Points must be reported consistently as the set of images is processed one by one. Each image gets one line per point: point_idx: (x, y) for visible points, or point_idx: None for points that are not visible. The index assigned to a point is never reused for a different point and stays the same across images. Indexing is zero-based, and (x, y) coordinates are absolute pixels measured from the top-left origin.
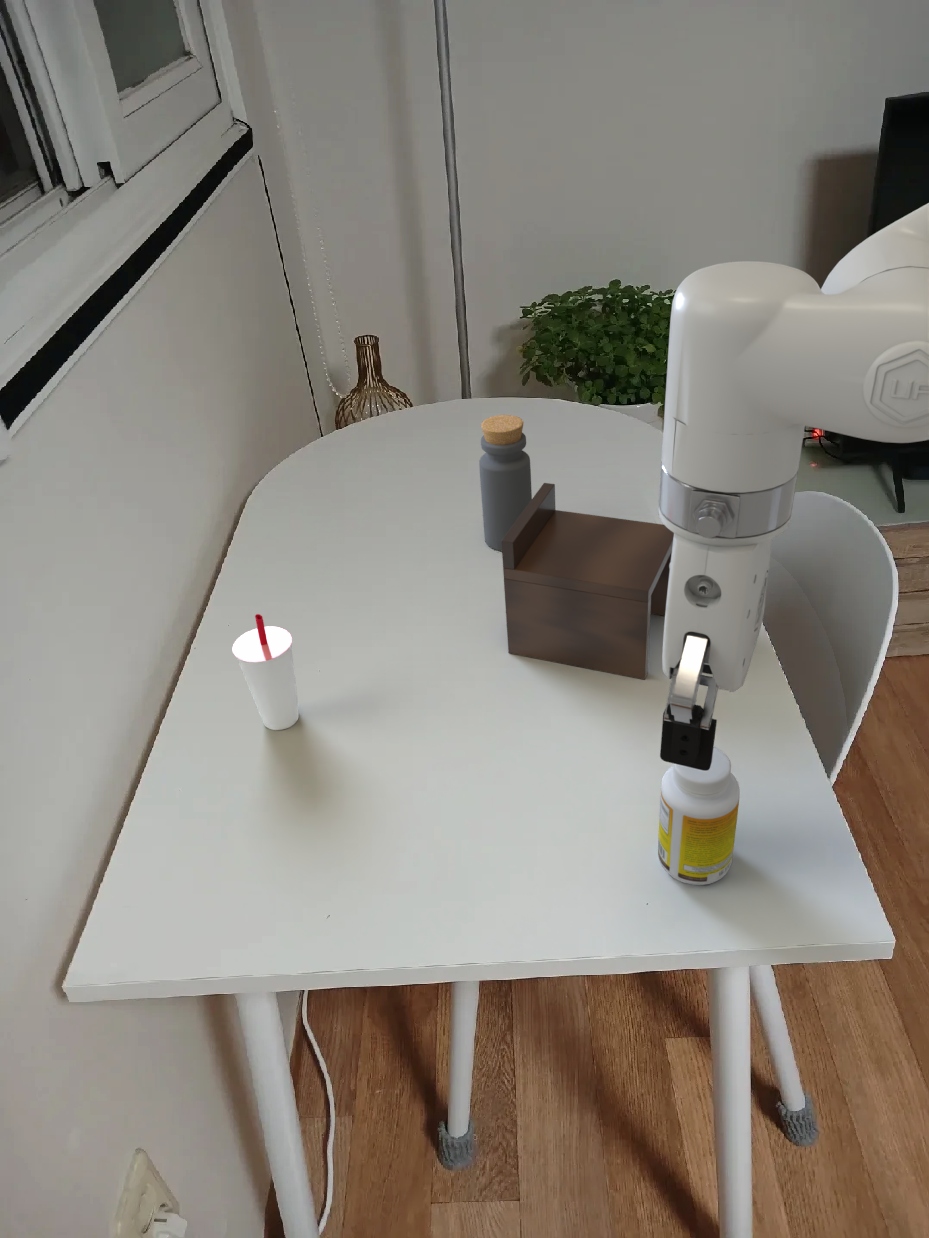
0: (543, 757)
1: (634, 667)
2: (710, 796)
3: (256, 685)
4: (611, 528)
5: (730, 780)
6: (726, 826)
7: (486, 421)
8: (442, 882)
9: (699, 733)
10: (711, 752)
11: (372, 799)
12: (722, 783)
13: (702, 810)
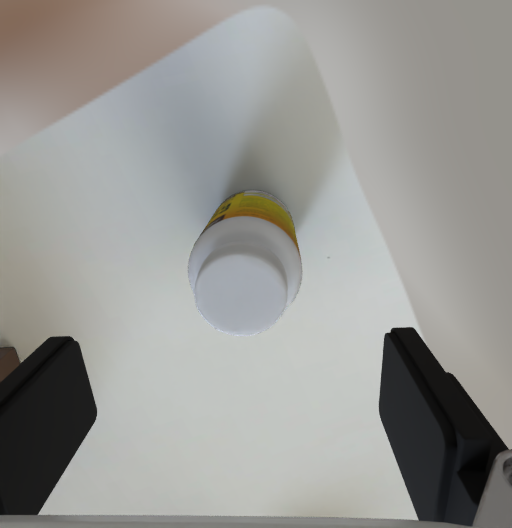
0: (181, 399)
1: (7, 367)
2: (280, 261)
3: None
4: None
5: (223, 239)
6: (275, 217)
7: None
8: (364, 422)
9: (501, 449)
10: (435, 358)
11: (296, 497)
12: (265, 255)
13: (296, 261)
